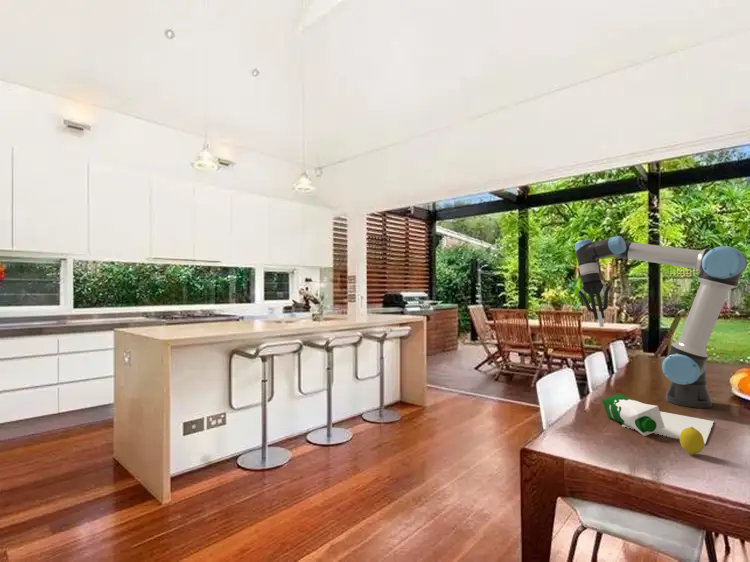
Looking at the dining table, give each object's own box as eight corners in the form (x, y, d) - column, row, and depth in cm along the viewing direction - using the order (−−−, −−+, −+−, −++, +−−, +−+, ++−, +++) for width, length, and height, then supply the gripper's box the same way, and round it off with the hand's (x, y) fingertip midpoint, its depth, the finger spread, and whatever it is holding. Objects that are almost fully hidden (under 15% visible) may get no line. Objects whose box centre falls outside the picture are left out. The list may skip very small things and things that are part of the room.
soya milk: (598, 398, 151) (640, 415, 131) (620, 389, 152) (664, 405, 132) (606, 420, 152) (648, 441, 132) (627, 412, 153) (673, 430, 133)
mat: (713, 422, 147) (713, 421, 147) (705, 444, 127) (705, 443, 127) (639, 408, 163) (639, 407, 163) (621, 426, 142) (621, 425, 142)
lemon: (675, 452, 121) (675, 425, 121) (687, 449, 123) (687, 422, 123) (696, 460, 116) (696, 431, 116) (708, 456, 118) (708, 428, 118)
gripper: (604, 273, 187) (616, 325, 182) (573, 278, 191) (583, 329, 186) (607, 270, 180) (620, 324, 175) (575, 274, 184) (586, 328, 179)
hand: (601, 326), depth 180 cm, fingers closed
